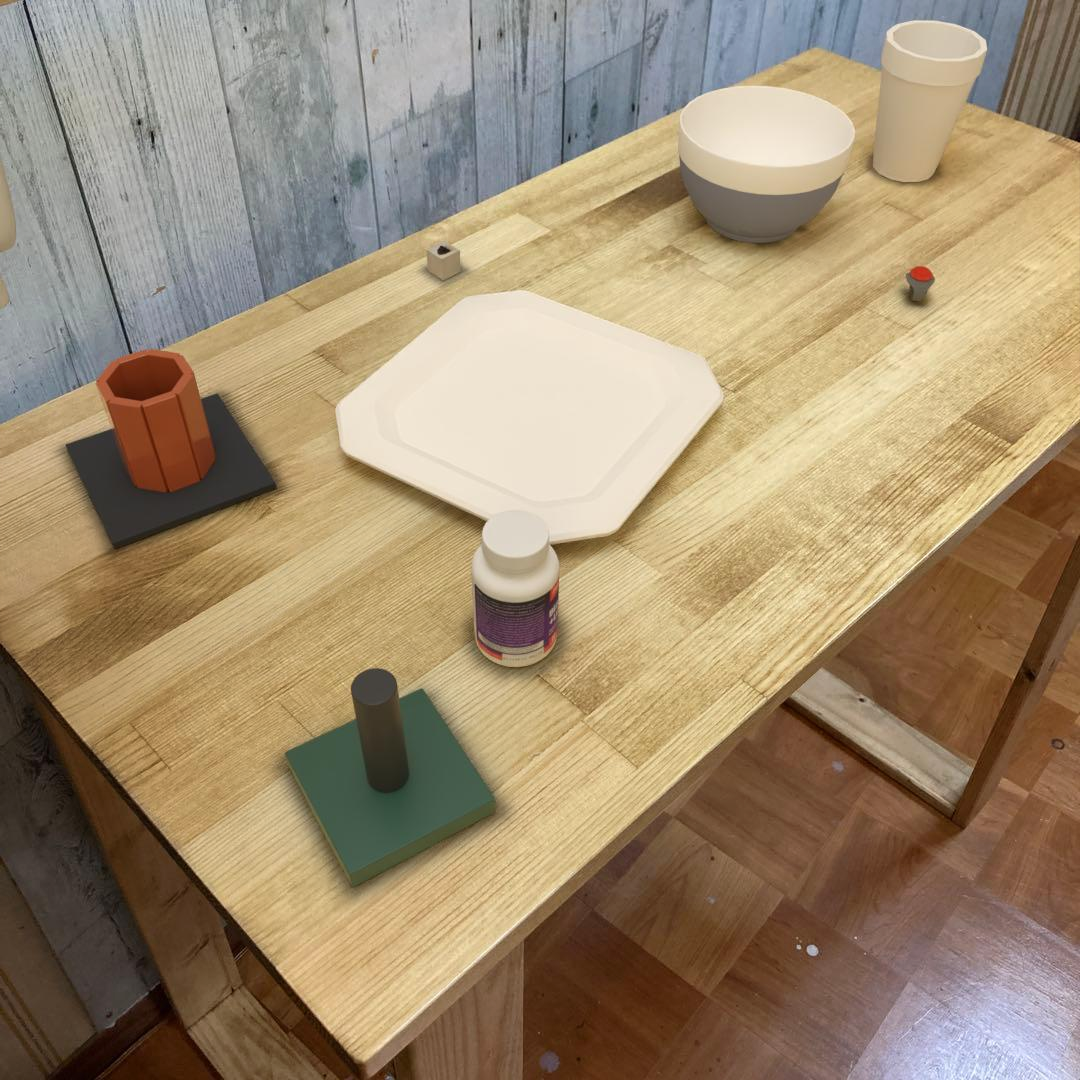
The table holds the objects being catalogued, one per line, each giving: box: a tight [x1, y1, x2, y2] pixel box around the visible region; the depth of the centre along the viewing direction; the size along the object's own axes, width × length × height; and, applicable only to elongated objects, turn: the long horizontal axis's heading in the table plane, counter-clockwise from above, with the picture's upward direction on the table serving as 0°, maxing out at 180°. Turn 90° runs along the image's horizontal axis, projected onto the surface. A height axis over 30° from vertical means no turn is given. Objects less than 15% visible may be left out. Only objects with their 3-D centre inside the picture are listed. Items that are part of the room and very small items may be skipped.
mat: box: [65, 393, 277, 550], centre depth 84 cm, size 12×12×1 cm
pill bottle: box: [470, 510, 561, 668], centre depth 70 cm, size 5×5×10 cm
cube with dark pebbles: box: [426, 240, 462, 281], centre depth 102 cm, size 2×2×2 cm
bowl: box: [677, 85, 856, 244], centre depth 106 cm, size 16×16×10 cm
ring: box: [905, 265, 936, 302], centre depth 100 cm, size 2×3×3 cm
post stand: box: [284, 667, 496, 888], centre depth 62 cm, size 9×9×10 cm
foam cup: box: [872, 20, 988, 183], centre depth 112 cm, size 10×9×13 cm
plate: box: [334, 289, 725, 546], centre depth 88 cm, size 25×25×2 cm
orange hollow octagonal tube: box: [95, 348, 216, 493], centre depth 81 cm, size 6×6×8 cm
